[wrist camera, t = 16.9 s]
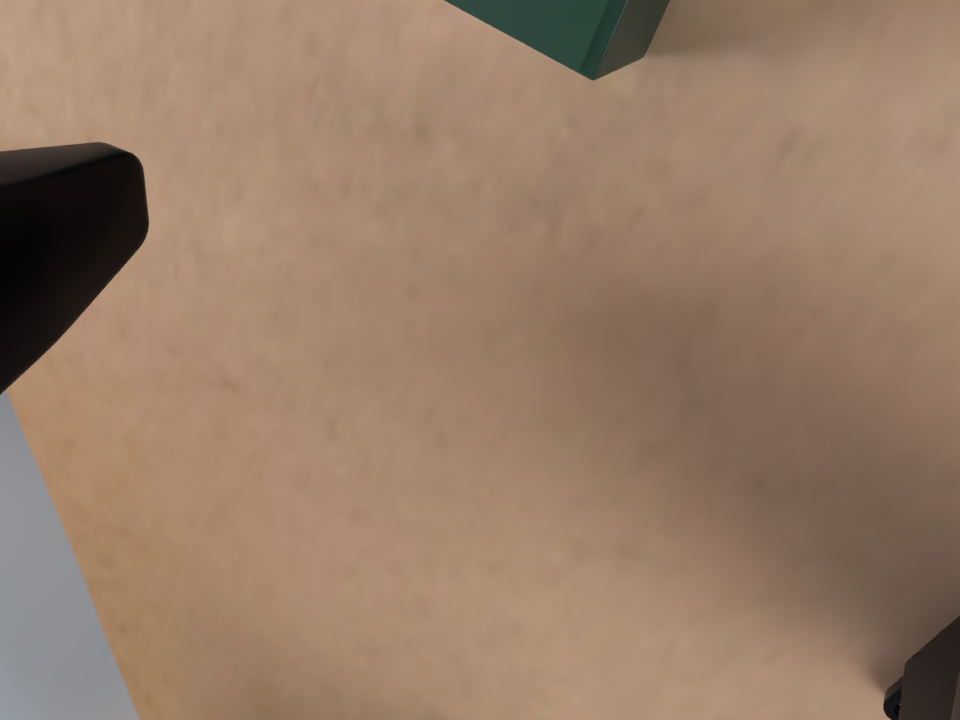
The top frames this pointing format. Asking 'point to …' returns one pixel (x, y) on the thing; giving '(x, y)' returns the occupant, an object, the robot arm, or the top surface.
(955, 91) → the top surface
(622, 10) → the book
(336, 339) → the top surface
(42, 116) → the top surface
